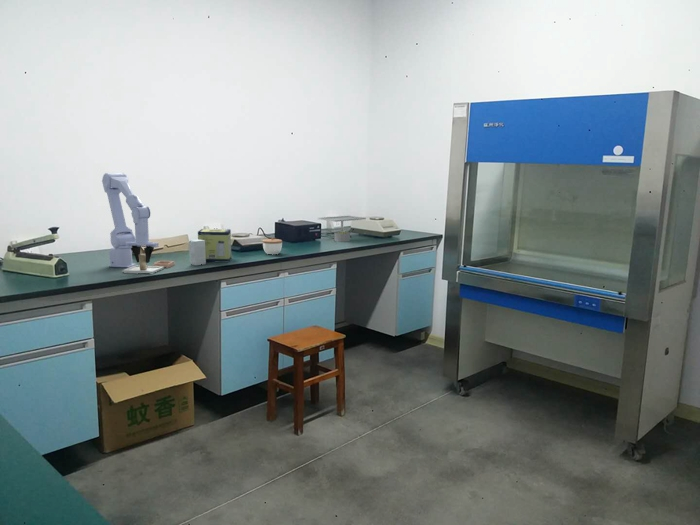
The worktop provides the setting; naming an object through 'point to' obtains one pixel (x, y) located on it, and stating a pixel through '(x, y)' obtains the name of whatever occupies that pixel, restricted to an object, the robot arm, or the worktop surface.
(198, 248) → the skincare box
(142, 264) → the dowel pin
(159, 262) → the pin cup
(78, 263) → the worktop surface
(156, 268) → the tray
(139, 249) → the robot arm
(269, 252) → the lidded jar
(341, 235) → the solar panel model
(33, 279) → the worktop surface
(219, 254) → the protein box
